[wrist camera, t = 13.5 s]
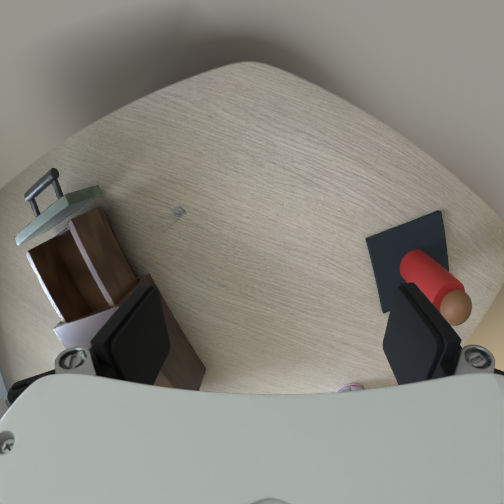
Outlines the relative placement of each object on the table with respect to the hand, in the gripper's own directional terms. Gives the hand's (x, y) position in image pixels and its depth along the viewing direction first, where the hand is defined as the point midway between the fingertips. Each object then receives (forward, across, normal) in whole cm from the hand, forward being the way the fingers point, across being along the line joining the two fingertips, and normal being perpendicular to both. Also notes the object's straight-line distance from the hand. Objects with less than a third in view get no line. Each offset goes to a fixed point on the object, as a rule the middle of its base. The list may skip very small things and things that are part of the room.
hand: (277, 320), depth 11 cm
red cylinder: (+19, -16, +6) cm, 26 cm away
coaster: (+20, -16, +6) cm, 26 cm away
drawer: (+19, +24, +3) cm, 30 cm away
